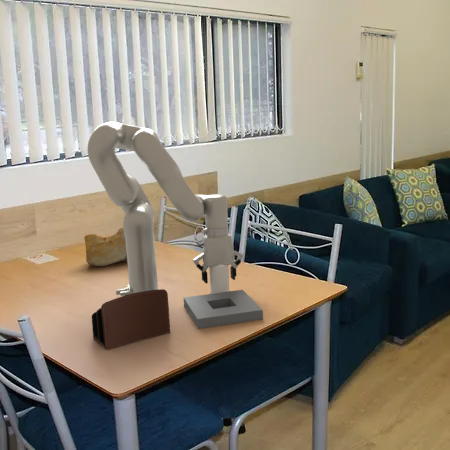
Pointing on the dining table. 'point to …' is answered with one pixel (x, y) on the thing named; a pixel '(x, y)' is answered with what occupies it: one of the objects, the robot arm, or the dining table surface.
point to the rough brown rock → (105, 249)
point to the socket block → (222, 308)
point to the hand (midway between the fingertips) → (219, 280)
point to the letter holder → (131, 319)
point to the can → (219, 279)
